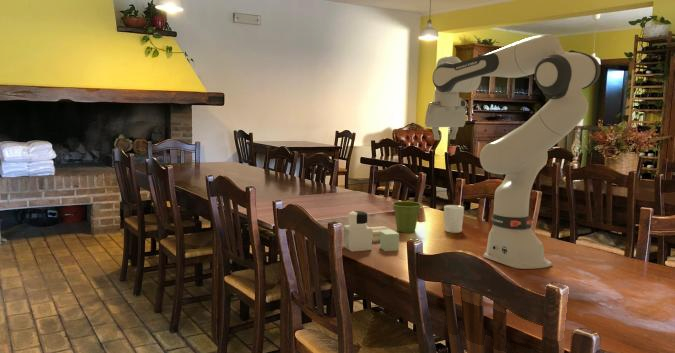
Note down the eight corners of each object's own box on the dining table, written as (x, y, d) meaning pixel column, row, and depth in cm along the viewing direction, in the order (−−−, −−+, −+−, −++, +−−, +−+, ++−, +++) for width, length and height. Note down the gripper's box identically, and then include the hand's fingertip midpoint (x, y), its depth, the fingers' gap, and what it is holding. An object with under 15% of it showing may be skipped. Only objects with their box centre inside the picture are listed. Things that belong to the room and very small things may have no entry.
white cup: (463, 233, 212) (464, 209, 211) (443, 232, 214) (444, 207, 212) (462, 229, 220) (463, 205, 218) (443, 228, 221) (444, 204, 220)
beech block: (393, 241, 200) (393, 230, 199) (373, 242, 197) (373, 231, 197) (384, 236, 207) (384, 226, 207) (365, 237, 205) (365, 227, 204)
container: (363, 244, 193) (363, 209, 191) (372, 250, 185) (372, 213, 184) (343, 246, 190) (343, 210, 188) (351, 252, 183) (352, 214, 181)
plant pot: (385, 229, 218) (386, 202, 216) (409, 227, 223) (410, 200, 222) (401, 235, 207) (402, 207, 206) (426, 233, 213) (427, 205, 211)
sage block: (398, 250, 186) (399, 233, 185) (385, 251, 184) (385, 234, 184) (393, 246, 190) (393, 230, 190) (380, 247, 189) (380, 231, 188)
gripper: (435, 101, 187) (434, 140, 189) (469, 102, 201) (467, 139, 202) (421, 101, 192) (420, 139, 193) (455, 102, 205) (454, 138, 207)
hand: (444, 139), depth 198 cm, fingers open, 8 cm apart
